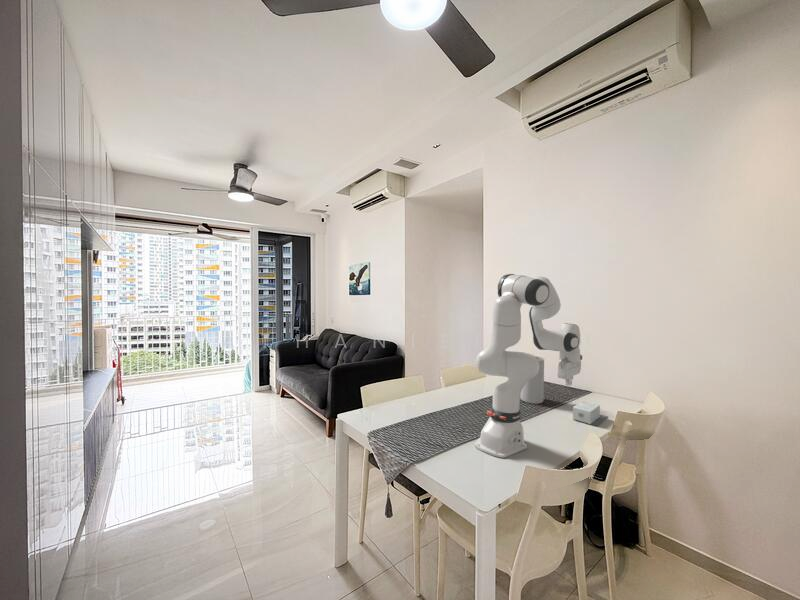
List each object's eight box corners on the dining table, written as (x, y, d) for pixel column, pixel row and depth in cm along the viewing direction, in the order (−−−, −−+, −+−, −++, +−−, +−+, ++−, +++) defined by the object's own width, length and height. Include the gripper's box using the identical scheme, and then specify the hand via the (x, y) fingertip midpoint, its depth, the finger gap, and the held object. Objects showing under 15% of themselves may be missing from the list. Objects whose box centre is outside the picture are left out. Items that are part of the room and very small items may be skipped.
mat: (597, 426, 150) (597, 425, 150) (577, 420, 156) (577, 419, 156) (607, 417, 160) (607, 416, 160) (587, 411, 167) (587, 411, 167)
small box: (590, 424, 151) (600, 417, 159) (590, 411, 150) (600, 404, 159) (572, 419, 157) (582, 412, 165) (572, 406, 157) (582, 400, 165)
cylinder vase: (536, 396, 191) (537, 355, 190) (547, 404, 178) (548, 360, 177) (516, 396, 190) (517, 355, 189) (526, 404, 178) (527, 360, 176)
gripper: (568, 360, 143) (567, 390, 143) (583, 355, 157) (583, 383, 157) (554, 358, 148) (553, 387, 148) (570, 353, 162) (569, 380, 162)
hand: (568, 385), depth 153 cm, fingers closed
